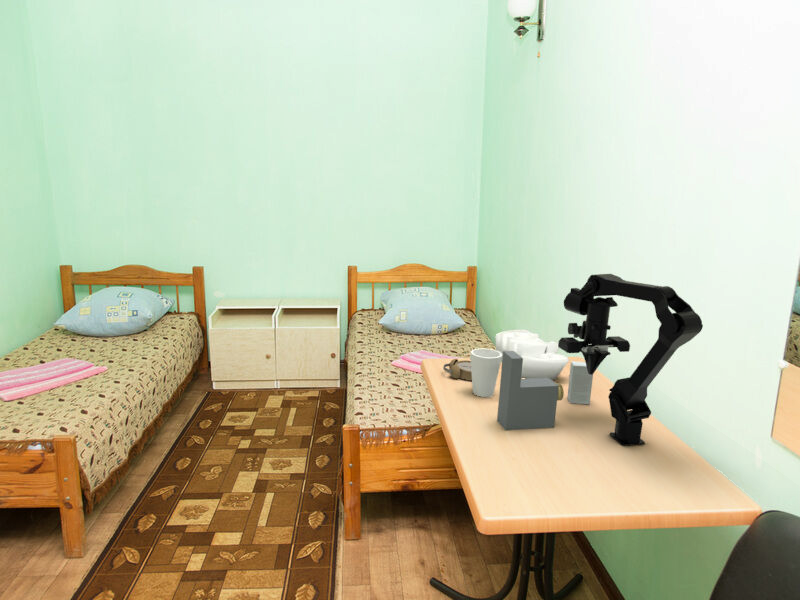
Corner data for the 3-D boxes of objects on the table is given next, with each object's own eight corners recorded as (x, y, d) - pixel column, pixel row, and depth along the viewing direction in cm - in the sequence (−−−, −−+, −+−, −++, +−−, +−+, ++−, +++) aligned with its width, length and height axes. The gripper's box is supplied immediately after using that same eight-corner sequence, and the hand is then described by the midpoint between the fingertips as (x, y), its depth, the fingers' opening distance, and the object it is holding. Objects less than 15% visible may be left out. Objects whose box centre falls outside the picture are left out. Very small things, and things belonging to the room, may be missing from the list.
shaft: (562, 403, 152) (564, 387, 151) (518, 405, 150) (519, 388, 149) (554, 396, 157) (556, 380, 156) (511, 398, 154) (512, 382, 153)
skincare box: (586, 399, 173) (591, 362, 170) (589, 405, 169) (594, 367, 166) (566, 397, 174) (570, 360, 171) (569, 403, 170) (573, 365, 167)
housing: (554, 427, 153) (562, 357, 148) (505, 430, 150) (512, 358, 145) (544, 418, 158) (551, 349, 154) (496, 420, 155) (503, 351, 151)
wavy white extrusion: (488, 351, 215) (490, 324, 213) (528, 350, 219) (531, 324, 216) (524, 386, 182) (527, 355, 180) (571, 384, 185) (575, 353, 183)
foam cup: (496, 401, 169) (500, 360, 166) (465, 397, 171) (468, 356, 168) (499, 390, 178) (503, 350, 175) (470, 386, 180) (473, 346, 177)
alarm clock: (491, 374, 183) (446, 364, 182) (487, 388, 184) (442, 378, 184) (487, 363, 194) (444, 353, 193) (483, 376, 195) (441, 366, 194)
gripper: (611, 311, 163) (604, 363, 167) (551, 312, 159) (546, 365, 163) (634, 322, 153) (627, 376, 156) (571, 323, 149) (565, 379, 152)
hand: (590, 374), depth 157 cm, fingers closed
